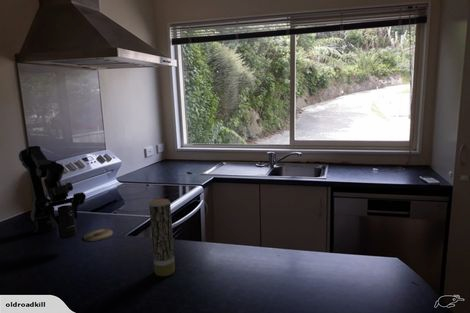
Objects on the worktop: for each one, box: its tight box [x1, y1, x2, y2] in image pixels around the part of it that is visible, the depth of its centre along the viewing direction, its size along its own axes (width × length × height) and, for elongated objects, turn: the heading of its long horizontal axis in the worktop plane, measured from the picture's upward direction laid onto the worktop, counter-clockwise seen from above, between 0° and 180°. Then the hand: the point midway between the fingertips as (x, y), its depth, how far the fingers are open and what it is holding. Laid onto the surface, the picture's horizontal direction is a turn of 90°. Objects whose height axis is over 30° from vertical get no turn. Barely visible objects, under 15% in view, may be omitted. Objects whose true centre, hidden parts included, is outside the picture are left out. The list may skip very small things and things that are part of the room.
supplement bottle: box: [55, 204, 77, 240], centre depth 133 cm, size 7×7×12 cm
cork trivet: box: [83, 228, 114, 242], centre depth 151 cm, size 12×12×1 cm
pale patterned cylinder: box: [148, 198, 176, 277], centre depth 114 cm, size 7×7×25 cm
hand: (67, 220), depth 132 cm, fingers closed on supplement bottle, 7 cm apart
